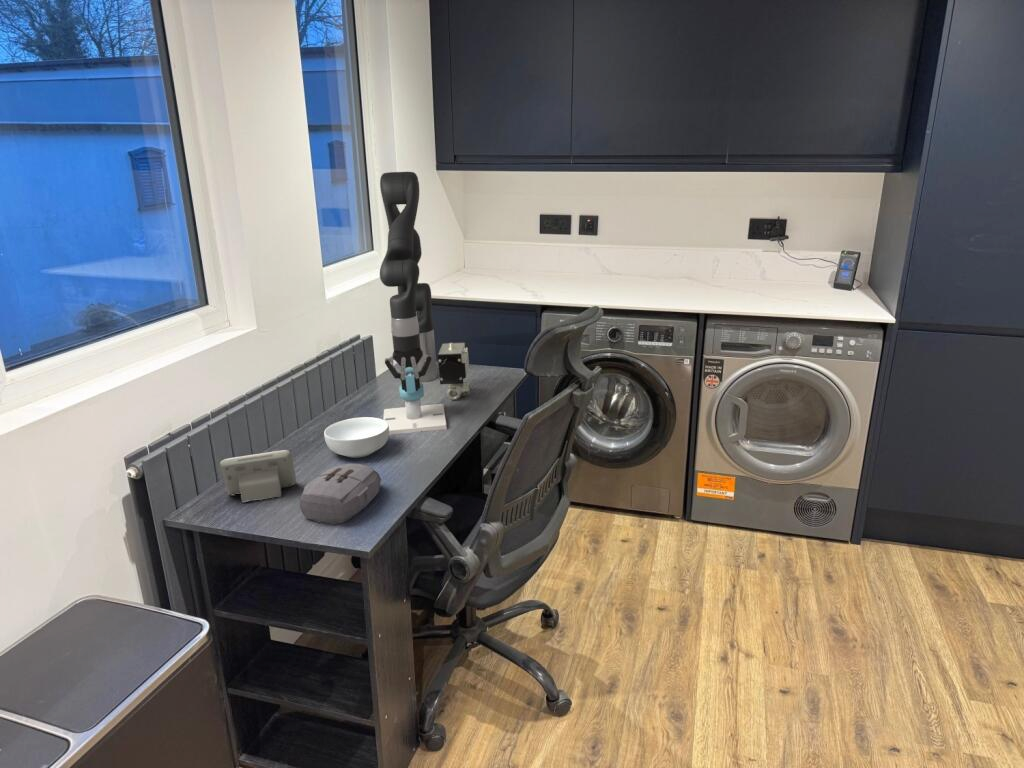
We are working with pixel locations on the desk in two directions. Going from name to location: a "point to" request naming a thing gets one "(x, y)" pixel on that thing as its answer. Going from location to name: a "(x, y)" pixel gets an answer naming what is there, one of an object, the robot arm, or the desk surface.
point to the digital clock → (258, 474)
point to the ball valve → (454, 368)
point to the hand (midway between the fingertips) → (411, 390)
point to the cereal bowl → (357, 436)
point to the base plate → (421, 422)
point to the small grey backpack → (340, 493)
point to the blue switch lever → (411, 387)
